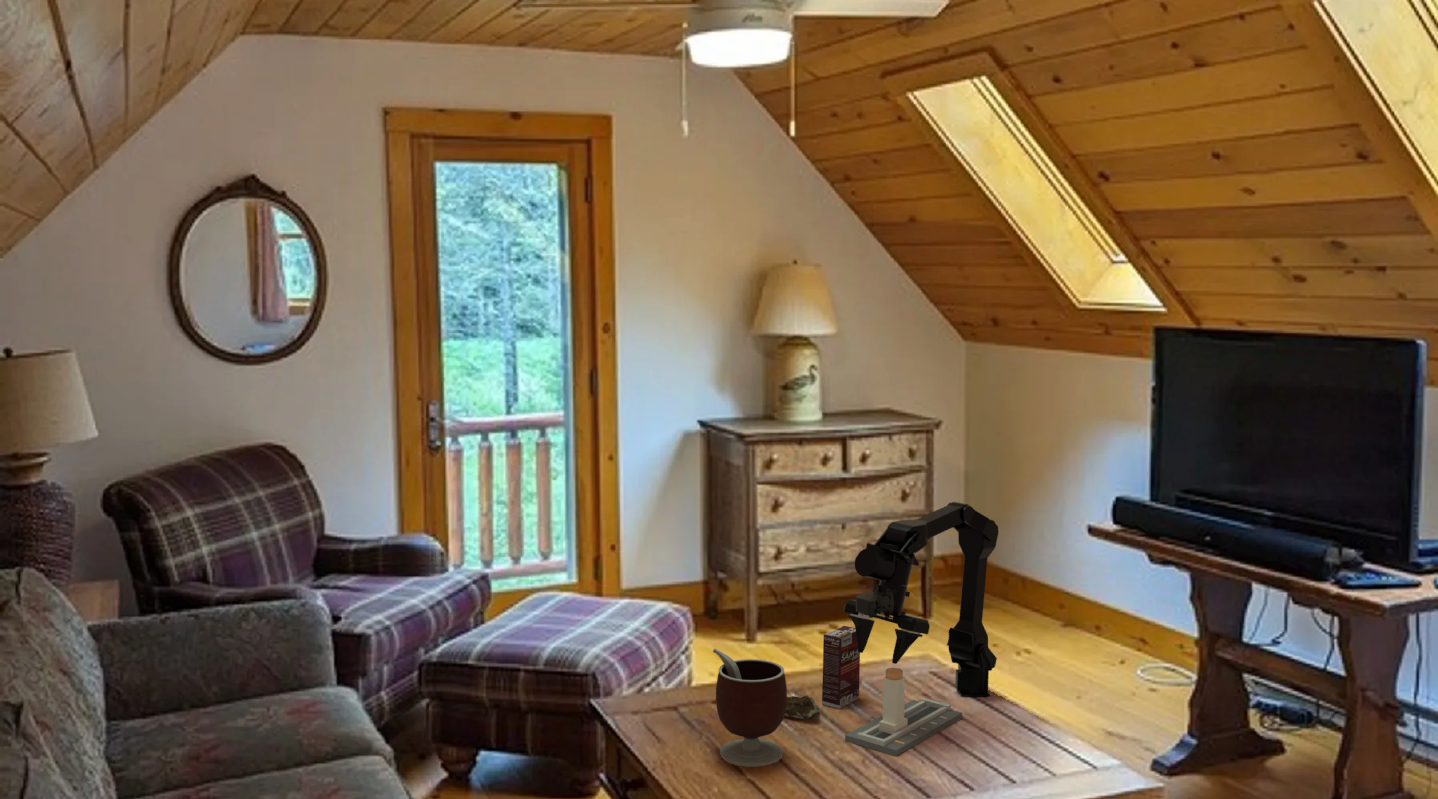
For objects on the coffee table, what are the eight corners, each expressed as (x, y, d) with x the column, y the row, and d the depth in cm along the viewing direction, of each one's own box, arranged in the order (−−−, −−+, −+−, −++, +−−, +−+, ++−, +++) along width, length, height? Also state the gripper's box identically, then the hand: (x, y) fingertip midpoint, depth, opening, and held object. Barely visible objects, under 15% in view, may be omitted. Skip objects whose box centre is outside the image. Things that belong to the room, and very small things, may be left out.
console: (913, 704, 271) (913, 695, 271) (962, 718, 263) (962, 708, 263) (845, 740, 251) (845, 730, 251) (895, 756, 244) (896, 745, 243)
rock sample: (833, 692, 268) (810, 674, 263) (833, 725, 262) (810, 706, 258) (793, 705, 273) (770, 687, 268) (792, 737, 267) (768, 719, 262)
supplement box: (840, 709, 268) (840, 638, 266) (821, 705, 271) (821, 634, 269) (860, 698, 275) (861, 628, 273) (842, 693, 278) (842, 624, 276)
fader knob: (892, 723, 257) (893, 665, 255) (907, 728, 254) (908, 669, 253) (879, 731, 253) (879, 672, 251) (894, 735, 251) (895, 675, 249)
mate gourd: (798, 748, 247) (799, 651, 245) (765, 774, 235) (765, 671, 233) (731, 733, 255) (731, 639, 253) (695, 757, 243) (695, 658, 241)
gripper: (835, 569, 259) (818, 643, 257) (904, 587, 245) (887, 665, 243) (869, 576, 266) (853, 648, 265) (938, 594, 252) (921, 670, 251)
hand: (877, 657), depth 256 cm, fingers open, 9 cm apart
